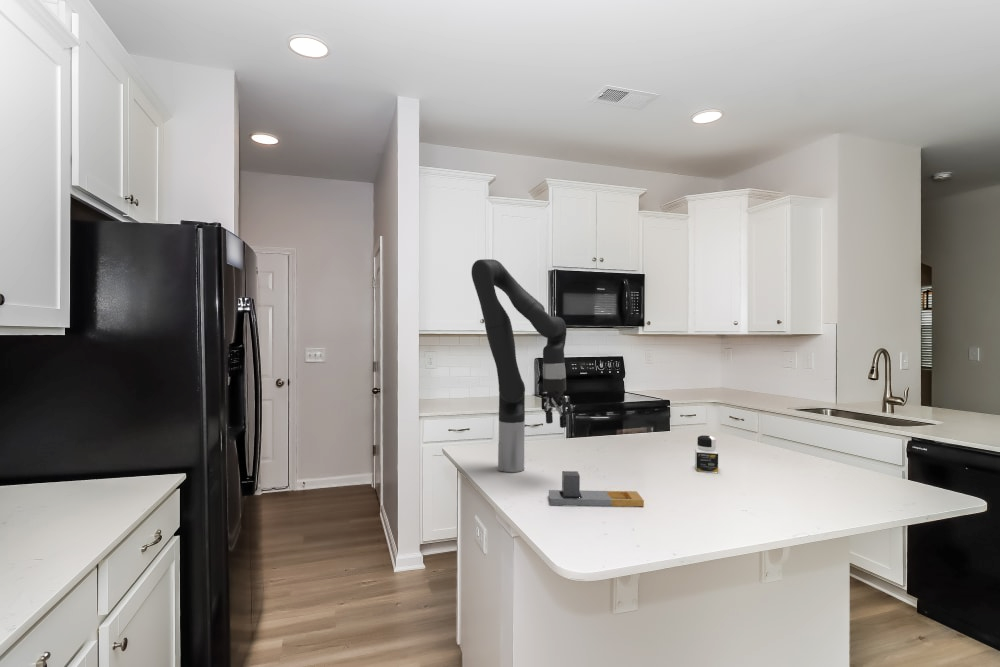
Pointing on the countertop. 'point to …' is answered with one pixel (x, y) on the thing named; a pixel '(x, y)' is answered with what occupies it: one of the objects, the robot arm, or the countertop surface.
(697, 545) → the countertop surface
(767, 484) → the countertop surface
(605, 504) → the rail
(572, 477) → the grey rectangular block
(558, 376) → the robot arm
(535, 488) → the countertop surface
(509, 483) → the countertop surface
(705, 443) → the medicine bottle
